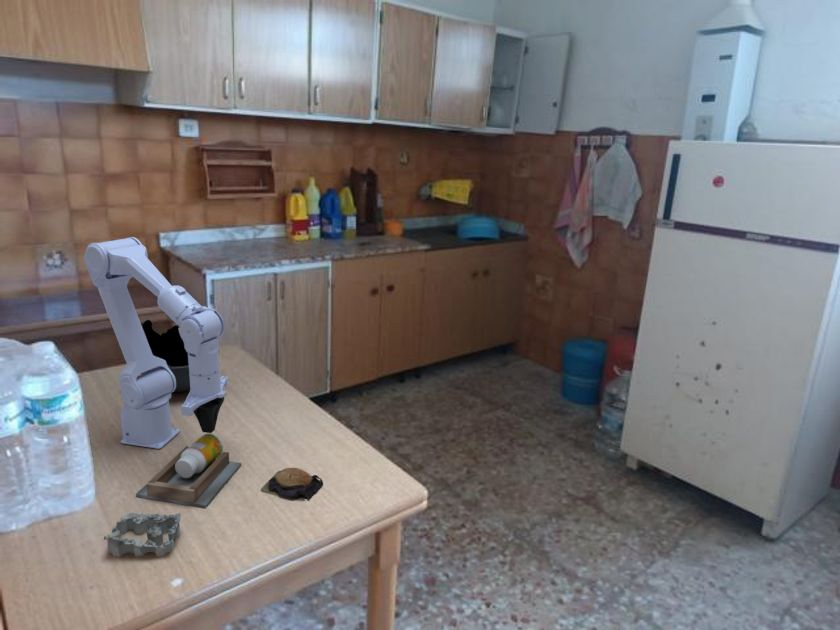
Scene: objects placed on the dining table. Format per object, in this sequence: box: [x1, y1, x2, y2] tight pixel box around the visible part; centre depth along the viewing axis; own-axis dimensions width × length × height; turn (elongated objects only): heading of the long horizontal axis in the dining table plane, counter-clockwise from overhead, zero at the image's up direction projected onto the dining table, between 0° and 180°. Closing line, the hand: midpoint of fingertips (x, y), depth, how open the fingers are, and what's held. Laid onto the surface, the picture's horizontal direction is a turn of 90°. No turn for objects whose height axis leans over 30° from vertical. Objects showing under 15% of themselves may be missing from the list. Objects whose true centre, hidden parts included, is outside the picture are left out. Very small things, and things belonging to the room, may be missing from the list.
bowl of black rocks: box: [140, 319, 190, 393], centre depth 149 cm, size 20×20×19 cm
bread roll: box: [260, 467, 324, 502], centre depth 114 cm, size 11×8×4 cm
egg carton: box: [103, 512, 182, 558], centre depth 97 cm, size 11×8×4 cm
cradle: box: [135, 446, 242, 509], centre depth 114 cm, size 14×14×3 cm
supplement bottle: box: [175, 433, 224, 478], centre depth 117 cm, size 5×5×10 cm
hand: (208, 431), depth 119 cm, fingers closed
